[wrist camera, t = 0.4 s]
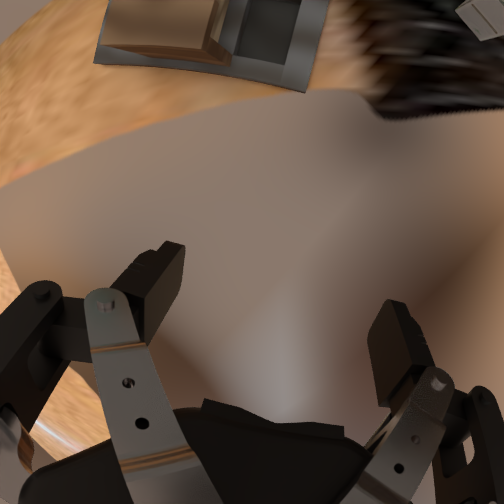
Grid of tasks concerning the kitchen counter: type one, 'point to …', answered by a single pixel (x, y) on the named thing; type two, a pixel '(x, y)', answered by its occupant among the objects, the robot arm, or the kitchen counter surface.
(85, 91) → the kitchen counter surface
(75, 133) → the kitchen counter surface
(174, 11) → the tunnel
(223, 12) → the slider block
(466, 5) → the syrup box
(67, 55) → the kitchen counter surface
